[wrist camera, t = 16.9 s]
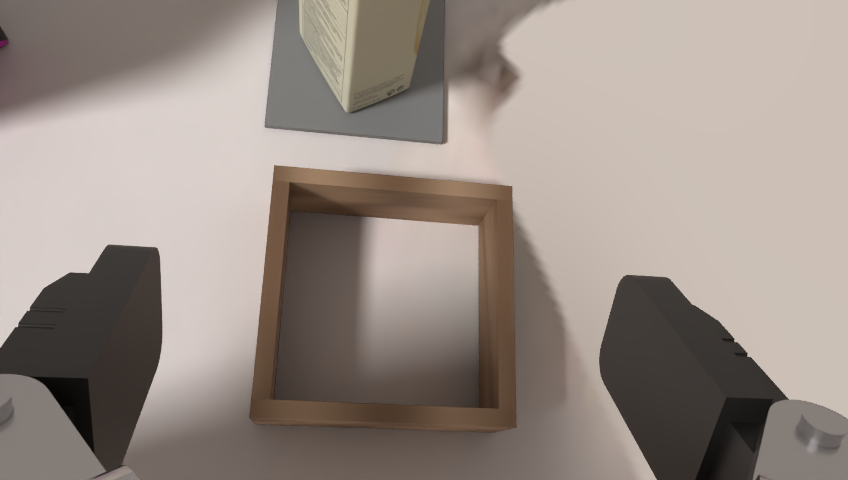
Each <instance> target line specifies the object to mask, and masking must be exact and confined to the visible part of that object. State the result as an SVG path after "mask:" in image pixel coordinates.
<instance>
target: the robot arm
mask: <svg viewBox="0 0 848 480" xmlns="http://www.w3.org/2000/svg"><path fill="white" fill-rule="evenodd" d="M18 324H19V325H18V327H15V329H14V330H13V331H12V333H11V334H10V336H9V337H8V338H7V340H6V341H5V342H4V344H3V345H2V347H1V348H0V480H140V479H139V478H138V476H137V475H136V474H135V473H134V471H133V470H132V469H130V468H129V467H128V466H126V465H122V462H123V459H124V457H125V454H126V451H127V448H128V446H129V443H130V440H131V438H132V435H133V432H134V429H135V427H136V424H137V421H138V419H139V416H140V413H141V410H142V408H143V405H144V402H145V400H146V397H147V394H148V392H149V389H150V386H151V383H152V381H153V378H154V375H155V373H156V370H157V367H158V363H159V359H160V353H161V346H162V303H161V273H160V256H159V251H158V249H157V248H156V247H140V246H123V245H107V246H106V248H105V249H104V251H103V252H102V254H101V255H100V257H99V258H98V260H97V262H96V263H95V265H94V266H93V268H92V269H91V271H90V273H89V274H88V273H68V274H67V275H65V276H63V277H62V278H60V279H58V280H57V281H55V282H53V283H52V284H50V285H48V286H47V287H45V288H44V289H43V290H42V292H41V293H40V294H39V296H38V297H37V298H36V300H35V301H34V303H33V304H32V305H31V307H30V311H27V312H26V314H25V315H24V316H23V318H22V319H21V320H20V322H19V323H18ZM599 363H600V373H601V377H602V380H603V382H604V384H605V386H606V388H607V390H608V391H609V393H610V395H611V397H612V399H613V401H614V402H615V404H616V406H617V408H618V409H619V411H620V413H621V415H622V417H623V419H624V421H625V422H626V424H627V426H628V428H629V430H630V431H631V433H632V435H633V436H634V439H635V441H636V442H637V444H638V446H639V448H640V450H641V451H642V453H643V455H644V457H645V459H646V461H647V462H648V464H649V466H650V468H651V470H652V471H653V473H654V475H655V477H656V479H657V480H848V419H847V418H846V417H844V416H842V415H841V414H839V413H837V412H835V411H833V410H830V409H828V408H826V407H823V406H820V405H817V404H814V403H811V402H806V401H801V400H789V399H788V398H787V397H786V396H785V395H784V394H783V392H782V391H781V390H780V389H779V388H778V387H777V386H776V385H775V384H774V382H773V381H772V380H771V379H770V378H769V377H768V376H767V375H766V374H765V372H764V371H763V370H762V369H761V368H760V367H759V366H758V365H757V363H756V362H755V361H754V360H753V359H752V358H751V357H747V352H746V351H745V350H744V349H743V348H742V347H741V346H740V345H739V344H738V343H737V342H734V338H733V337H732V336H731V335H730V333H728V331H727V330H726V329H725V328H724V327H723V326H722V324H721V323H720V322H719V321H718V320H716V319H714V318H713V317H711V316H710V315H708V314H707V313H705V312H704V311H702V310H701V309H699V308H698V307H696V306H694V305H692V304H691V303H690V302H689V301H688V299H687V298H685V296H684V295H683V294H682V293H681V292H680V290H679V289H678V288H677V287H676V286H675V285H674V283H673V282H672V281H671V280H670V279H669V278H666V277H653V276H636V275H626V276H624V277H623V278H622V279H621V281H620V282H619V284H618V287H617V290H616V294H615V298H614V301H613V305H612V309H611V312H610V316H609V319H608V323H607V327H606V330H605V334H604V337H603V341H602V345H601V349H600V357H599Z"/></svg>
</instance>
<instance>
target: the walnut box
mask: <svg viewBox="0 0 848 480" xmlns="http://www.w3.org/2000/svg"><path fill="white" fill-rule="evenodd" d="M290 211H302V212H314V213H327V214H340V215H352V216H365V217H378V218H390V219H403V220H416V221H428V222H441V223H454V224H466V225H479V408H468V407H444V406H419V405H394V404H369V403H345V402H320V401H295V400H274V392H275V380H276V369H277V358H278V347H279V335H280V324H281V313H282V301H283V290H284V279H285V268H286V256H287V245H288V234H289V223H290ZM250 419H251V420H252V421H253V422H254V423H255V424H271V425H299V426H328V427H356V428H384V429H413V430H441V431H469V432H498V431H502V430H506V429H511V428H515V427H516V384H515V326H514V268H513V210H512V186H503V185H492V184H481V183H469V182H458V181H446V180H435V179H424V178H412V177H401V176H389V175H378V174H367V173H355V172H344V171H333V170H321V169H310V168H298V167H287V166H276V165H274V174H273V184H272V195H271V205H270V215H269V225H268V235H267V245H266V255H265V266H264V276H263V286H262V296H261V306H260V316H259V326H258V337H257V347H256V357H255V367H254V377H253V387H252V397H251V408H250Z"/></svg>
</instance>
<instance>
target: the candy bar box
mask: <svg viewBox="0 0 848 480" xmlns="http://www.w3.org/2000/svg"><path fill="white" fill-rule="evenodd" d="M8 42H9V41H8V39H7V37H6V35H5V33H4V32H3V30H2V29H1V27H0V48H1V47H2V46H4V45H5V44H7V43H8Z"/></svg>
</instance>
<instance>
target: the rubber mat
mask: <svg viewBox="0 0 848 480" xmlns="http://www.w3.org/2000/svg"><path fill="white" fill-rule="evenodd" d="M444 16H445V0H430V3H429V6H428V11H427V15H426V19H425V24H424V28H423V32H422V36H421V40H420V44H419V49H418V53H417V57H416V62H415V66H414V70H413V74H412V78H411V82H410V86H409V88H408V89H406V90H404V91H401V92H399V93H397V94H395V95H393V96H390V97H388V98H386V99H383V100H381V101H378V102H376V103H374V104H371V105H368V106H366V107H363V108H360V109H358V110H355V111H353V112H350V113H346V112H345V110H344V109H343V107H342V105H341V104H340V102H339V101H338V99H337V98H336V96H335V94H334V93H333V91H332V89H331V88H330V86H329V84H328V83H327V81H326V79H325V78H324V76H323V74H322V73H321V71H320V69H319V67H318V66H317V64H316V62H315V60H314V59H313V57H312V55H311V53H310V51H309V50H308V48H307V46H306V44H305V42H304V40H303V38H302V37H301V34H300V23H299V0H278V4H277V13H276V23H275V32H274V42H273V51H272V61H271V70H270V79H269V89H268V98H267V108H266V117H265V128H275V129H286V130H296V131H307V132H317V133H328V134H338V135H349V136H359V137H370V138H380V139H391V140H401V141H412V142H422V143H433V144H442V135H443V75H444Z"/></svg>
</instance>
